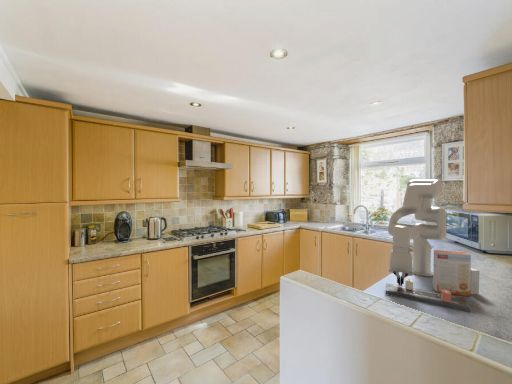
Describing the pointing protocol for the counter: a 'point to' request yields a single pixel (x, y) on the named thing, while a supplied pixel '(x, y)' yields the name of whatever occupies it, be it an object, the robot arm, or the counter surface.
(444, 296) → the rust fader
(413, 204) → the robot arm
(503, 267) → the counter surface
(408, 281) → the block
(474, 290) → the skincare box
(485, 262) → the counter surface
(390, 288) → the console
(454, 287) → the cracker box
